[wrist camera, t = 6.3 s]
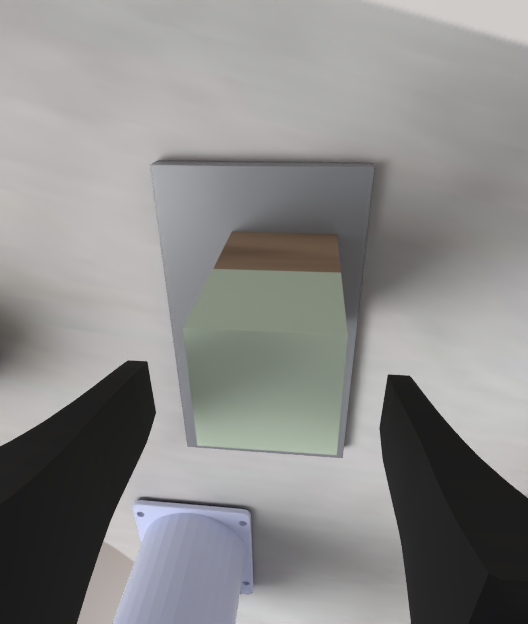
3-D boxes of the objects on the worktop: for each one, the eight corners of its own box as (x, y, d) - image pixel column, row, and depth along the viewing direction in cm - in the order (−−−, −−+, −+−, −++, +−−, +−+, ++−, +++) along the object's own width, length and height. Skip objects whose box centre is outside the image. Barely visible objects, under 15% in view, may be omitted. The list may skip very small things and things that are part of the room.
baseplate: (342, 447, 26) (342, 458, 25) (191, 436, 27) (187, 446, 26) (372, 163, 18) (374, 167, 17) (156, 161, 19) (150, 165, 18)
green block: (333, 376, 17) (336, 455, 14) (220, 371, 18) (197, 445, 14) (341, 272, 15) (347, 334, 12) (212, 268, 16) (182, 327, 12)
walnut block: (330, 325, 21) (332, 377, 17) (236, 321, 21) (220, 371, 18) (336, 234, 19) (341, 273, 15) (231, 231, 19) (212, 269, 16)
